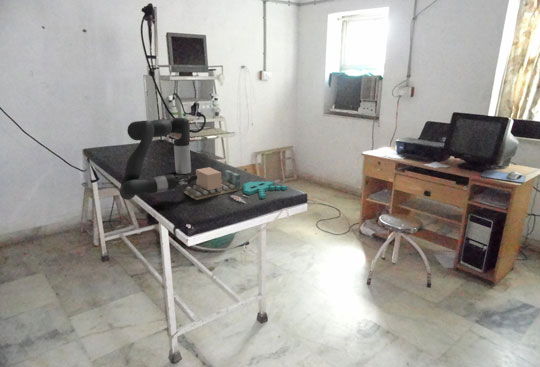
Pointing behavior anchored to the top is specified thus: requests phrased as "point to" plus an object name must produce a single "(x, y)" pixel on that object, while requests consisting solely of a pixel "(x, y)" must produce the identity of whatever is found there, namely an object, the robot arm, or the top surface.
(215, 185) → the tan cardboard box
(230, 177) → the roller track
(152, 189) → the robot arm
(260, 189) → the alien figure
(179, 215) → the top surface
